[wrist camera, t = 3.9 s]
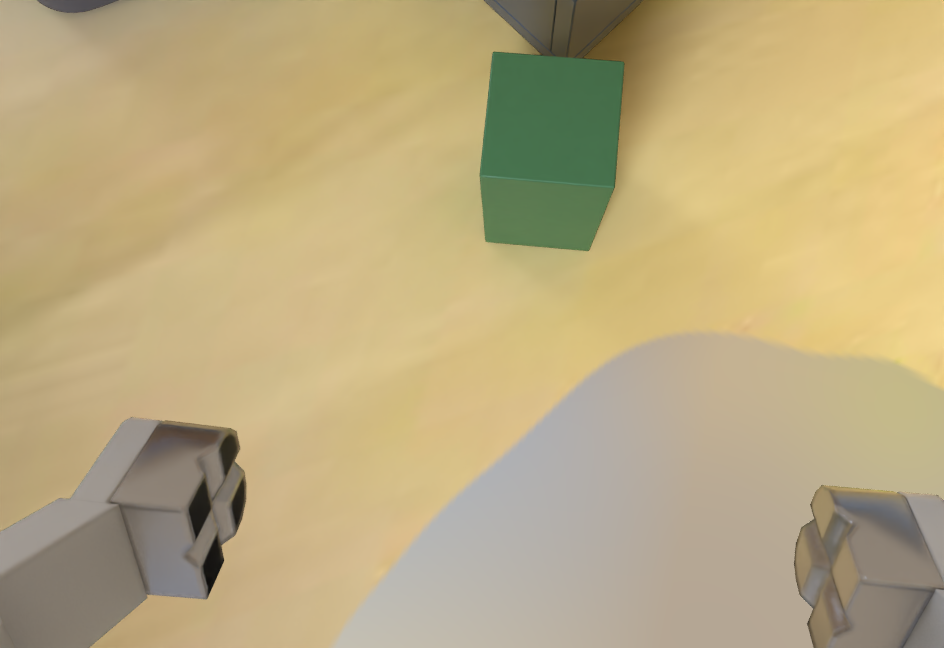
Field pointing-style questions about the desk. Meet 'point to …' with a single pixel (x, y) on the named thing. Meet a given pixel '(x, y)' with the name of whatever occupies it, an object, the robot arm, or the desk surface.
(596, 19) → the dark blue tray
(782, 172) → the desk surface
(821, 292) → the desk surface
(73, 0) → the streaming box
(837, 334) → the desk surface
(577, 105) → the green block
